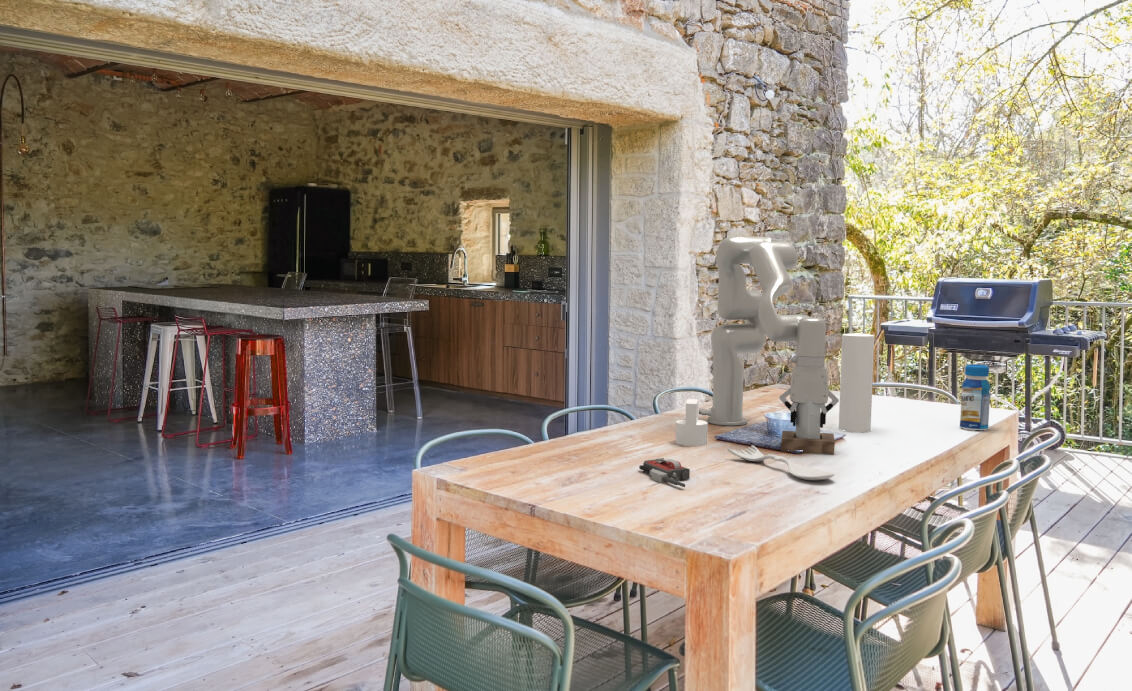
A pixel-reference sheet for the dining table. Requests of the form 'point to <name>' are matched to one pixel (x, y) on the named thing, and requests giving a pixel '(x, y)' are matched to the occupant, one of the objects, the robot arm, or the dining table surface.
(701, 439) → the cylinder with rectangular tab
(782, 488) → the dining table surface
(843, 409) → the tall grey rectangular pillar
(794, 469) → the beige plastic utensil
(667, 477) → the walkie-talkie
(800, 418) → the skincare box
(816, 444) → the socket block
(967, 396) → the beverage bottle
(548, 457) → the dining table surface
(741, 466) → the dining table surface
